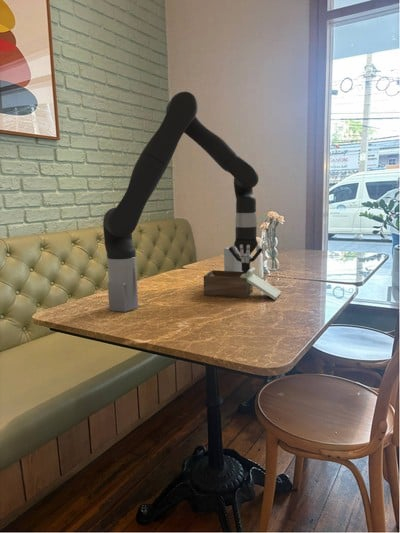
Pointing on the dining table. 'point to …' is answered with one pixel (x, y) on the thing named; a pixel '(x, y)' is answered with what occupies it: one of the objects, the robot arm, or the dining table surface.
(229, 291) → the box
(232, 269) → the skincare box
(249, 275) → the lid
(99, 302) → the dining table surface
